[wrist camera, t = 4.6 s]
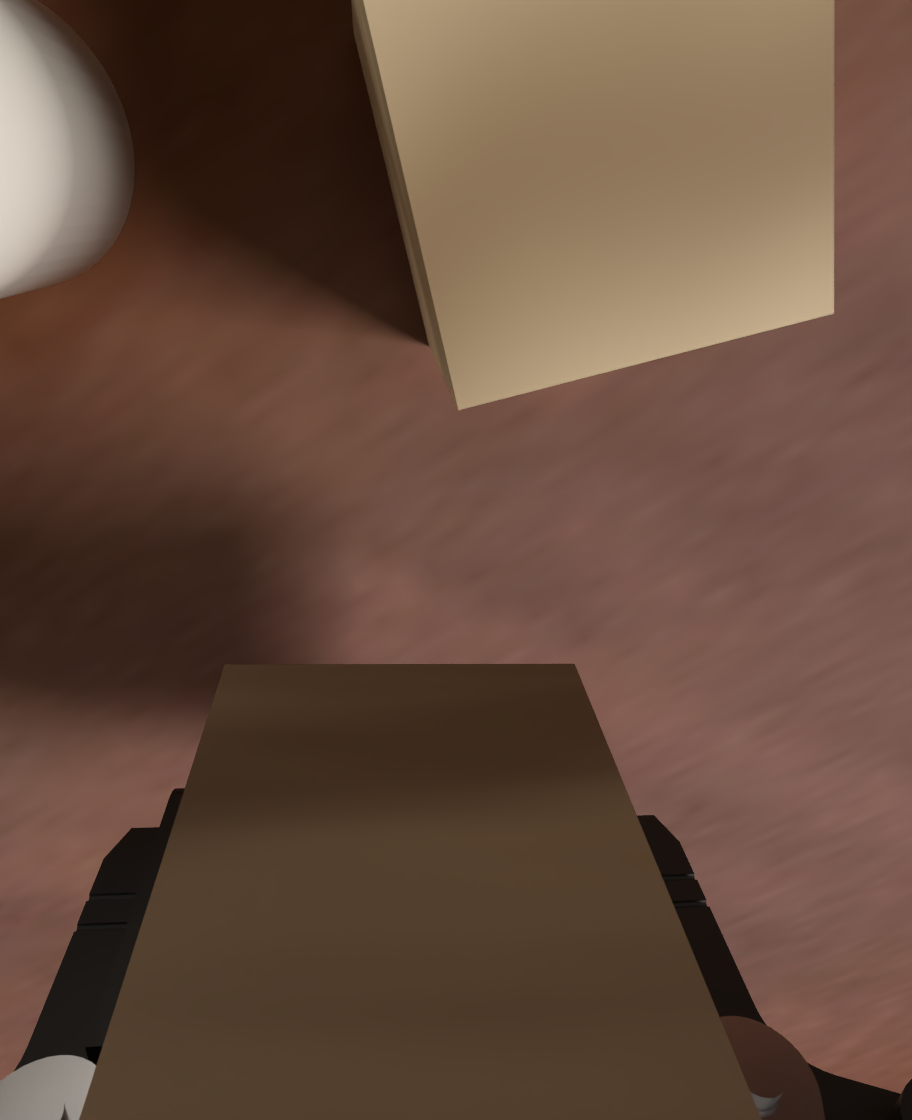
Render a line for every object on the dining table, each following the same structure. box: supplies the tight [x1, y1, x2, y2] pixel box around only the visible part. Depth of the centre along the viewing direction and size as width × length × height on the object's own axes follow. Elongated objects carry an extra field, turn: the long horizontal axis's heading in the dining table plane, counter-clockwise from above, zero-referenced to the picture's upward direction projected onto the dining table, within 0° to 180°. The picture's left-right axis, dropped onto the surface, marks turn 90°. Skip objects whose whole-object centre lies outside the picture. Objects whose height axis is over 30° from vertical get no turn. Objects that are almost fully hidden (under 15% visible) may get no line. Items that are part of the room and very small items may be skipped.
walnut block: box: [79, 664, 762, 1120], centre depth 9 cm, size 5×5×6 cm
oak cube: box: [351, 0, 834, 410], centre depth 10 cm, size 4×4×4 cm
